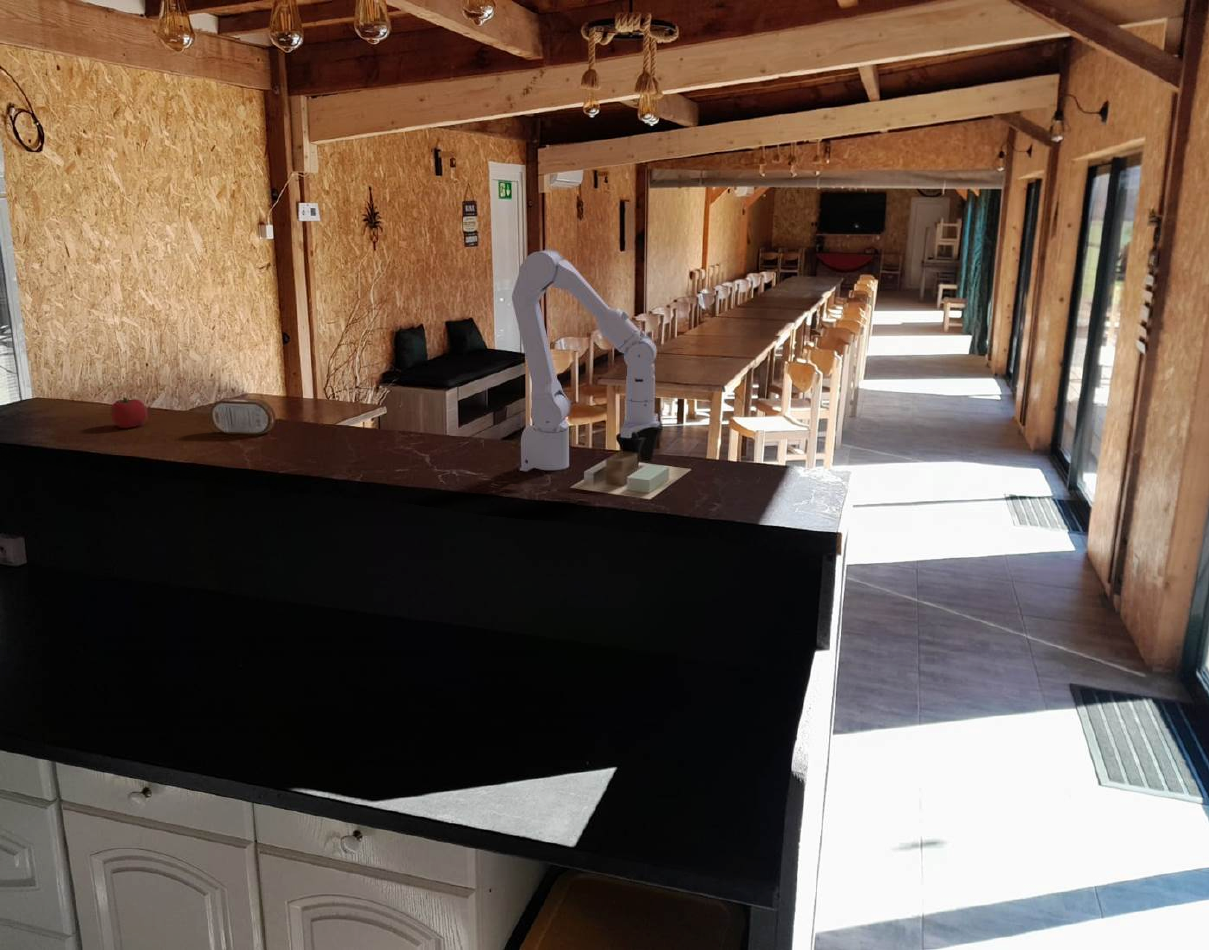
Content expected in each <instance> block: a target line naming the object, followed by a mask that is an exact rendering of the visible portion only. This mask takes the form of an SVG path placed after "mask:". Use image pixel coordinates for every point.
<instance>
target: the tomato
mask: <svg viewBox="0 0 1209 950" xmlns="http://www.w3.org/2000/svg"><path fill="white" fill-rule="evenodd" d="M148 412H149V411H148V409H147V406H146V405H145V404H144V403H143V402H142V401H141V400H139V399H136V398H135V399H127V397H125V396H124V397H123V399H120V400H115V402H114V403H112V406H111V408H110V416H111V420H112V421H113V422H114V423H115V425H117V426H118V427H119V428H121V429H130V428H136V427H140V426H143V425H144V424H145V423H146V421H147V419H148Z"/></svg>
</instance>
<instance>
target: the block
mask: <svg viewBox="0 0 1209 950" xmlns="http://www.w3.org/2000/svg"><path fill="white" fill-rule="evenodd" d="M605 460H606V484H607V485H614V486H621V487H623V486H624V485H626V484H627V477H628V476H630V475H631V474H633V473H634V472H636V471H637V453H635V452H627V451H622V450H620V451H618V452H616V453H615V454H613V455H611V456H609V457H608V458H605Z"/></svg>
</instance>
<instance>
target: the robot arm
mask: <svg viewBox="0 0 1209 950" xmlns="http://www.w3.org/2000/svg"><path fill="white" fill-rule="evenodd" d="M549 287H551V288H553V289H554V288H555V289H559V290H564V291H567V292H569V293H570V294H571V296H572V297H574V298H575V299H576V300H577V301H578V302H579V304H581V305H582V306H583V307H584V308H585V309H586V310H588V312H589V313H591V315H592V316H594V317H595V319H597V330H599V332H600V333H601V334H602V335H603V336H604V338H605V339H607V340H608V341H609V342H610V344H611V345H612V346H614V347H613V348H615V349H616V350H617V351H618V352H619V353H622V354H624V355H623V361H624V363H625V364H626V367H627V369H626V371H627V373H626V376H625V378H626V379H625V382H626V383H625V419H624V422H623V425H622V426H621V427H620V432H619V433H618V434H616V436H615V438H616V439H615V440H616V442H617V443H618V446H619V448H620V449H621V450H620V451H627V452H635V453H637V468H638V465H639V462H640V459H641V461H645V462H651V461H652V460H653V456H654V452H655V450H656V449H655V448H656V445H657V442H658V439H659V437H660V435H661V432H662V431H663V425H660V424H661V423H660V421H659V414H658V413H655V398H656V397H655V396H656V376H655V372H656V367H655V360H656V357H657V353H658V351H657V350H658V348H657V346H656V343H655V342H654V340H653V338H651V337H650V336H647V335H646V332H645V331H644V330H640V328H638V327H637V326H636V325H635V323H633V322H632V321H631V319H629V317H630V314H629V313H628V312H627V310H624V311H622V310H621V309H620V308H614V307H609V306H608V304H607V303H606V302H605V301H604V300H603V299H602V297H601V296H600V295H599V294H598V293H597V292H596V291H595V290H594V289H593V287H592V286H591V285H590V284H589V282H588V281H586V279H585V278H584V277H583V276H582V274H580V272H579V271H578V270H577V269H576V268H575V267H574V265H573V264H572V263H571V262H570V261H568V260H567V259H564V258H563V256H562V255H561V254H560V253H559V252H558V251H557V250H555V249H551V248H549V249H548V248H547V249H544V250H541V251H535V252H532V253H530V254H528V255H527V257H526V258H525V260H523V262H522V263H521V264H520V266H518V275H517V279H516V281H515V284H514V287H513V291H512V294H511V301H512V306H513V310H514V314H515V318H516V319H515V320H516V323H517V327H518V331H519V335H520V338H521V343H522V348H523V351H524V355H525V360H526V363H527V369H528V372H529V373H528V374H529V377H530V381H531V384H532V385H531V395H530V396H531V402H532V407H531V410H530V418H531V421H532V423H533V425H527V426H526V427H525V428H524V429H523V431H522V434H521V438H520V462H521V463H520V464H521V467H519V471H520V472H521V471H522V472H528V471H531V470H532V469H534V468H535V469H538V470H542V471H561V470H564V469H567V468H569V467H570V441H569V440H570V435H569V434H570V433H569V432H570V427H569V426H570V425H569V423H568V421H567V419H566V418H567V417H568V416H569V414H570V413H571V402H570V399H569V398H568V397H567V396H566V395H565V393H564V390H563V387H562V385H561V382H560V380H558V378H557V375H556V369H555V365H554V361H553V356H552V352H551V349H550V345H549V340H548V336H547V331H546V327H545V322H544V319H543V314H542V310H541V305H540V300H541V299H542V297H543V296H544V295H545V293H546V292H547V289H548V288H549Z"/></svg>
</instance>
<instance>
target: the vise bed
mask: <svg viewBox="0 0 1209 950" xmlns="http://www.w3.org/2000/svg"><path fill="white" fill-rule="evenodd" d="M647 464H650V465H657V466H665V467H669V480H667V481H666V482H664V483H663V484H662V485H660V486H659V487H657V488H656V489H654V490H653V491H652V492H650V493H645V492H638V491H631V490H627V484H626V485H624V486H623V487H621V486H614V485H607V484H606V478H605V479H604V480H602V481H600V482H599V483H597V484H595V485H594V486H593V485H586V484H584V479H582V480H580V481H579V482H577V483H575V484H573V485H571V486H570V487H569V488H570V489H578V490H584V491H585V490H586V491H590V492H591V491H592V492H598V493H604V494H611V495H617V496H618V495H619V496H625V497H632V498H638V499H645V500H651V499H653V498H654V497H656V496H657V495H659V494H660V493H661V492H663V491H664V490H665V489H667V488H668V487H669V486H670V485H672V484H674V483H675V482H676V481H678V480H679V479H681V478H682V477H683V476H685V475H686V474H687V473H689V472H690V471H692V469H691V468H683V467H675V466H669V465H662V464H654V463H645V462H640V461H639V465H638V468H637V471H638V470H639V469H641V468H642V467H644V466H646V465H647ZM570 493H571V494H572V493H573V494H574V492H572V491H570ZM577 494H579V495H581V493H579V492H577ZM584 495H587V496H588V494H586V493H584ZM590 496H593V497H594V494H593V495H591V494H590ZM597 497H599V498H601V496H599V495H597ZM604 498H606V499H608V497H605V496H604ZM610 499H613V500H614V498H613V497H611V498H610ZM617 500H619V501H621V499H620V498H619V499H618V498H617ZM623 501H625V502H627V499H623Z"/></svg>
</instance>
